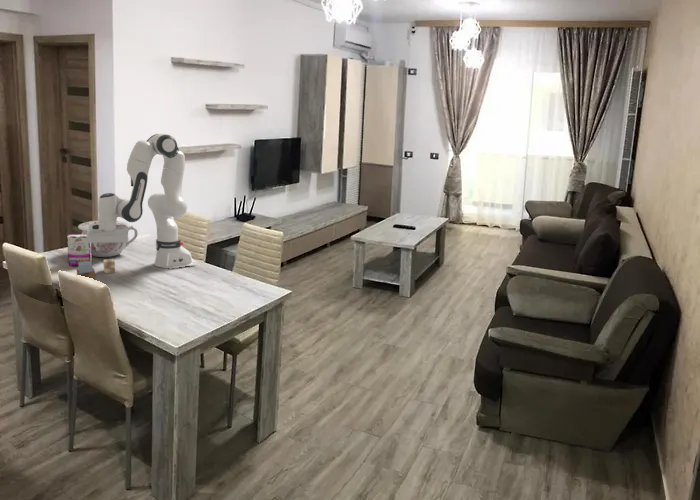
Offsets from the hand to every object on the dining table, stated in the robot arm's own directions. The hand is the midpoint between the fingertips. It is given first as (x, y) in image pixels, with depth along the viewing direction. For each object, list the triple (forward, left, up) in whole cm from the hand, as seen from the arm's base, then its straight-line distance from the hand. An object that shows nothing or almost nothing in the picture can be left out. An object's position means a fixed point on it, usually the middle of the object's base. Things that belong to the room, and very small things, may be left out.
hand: (107, 250), depth 317 cm
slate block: (+11, +8, -8) cm, 16 cm away
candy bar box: (+12, -15, -12) cm, 23 cm away
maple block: (-1, 0, -11) cm, 11 cm away
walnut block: (+11, +8, -12) cm, 18 cm away
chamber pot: (-2, -33, -12) cm, 35 cm away
